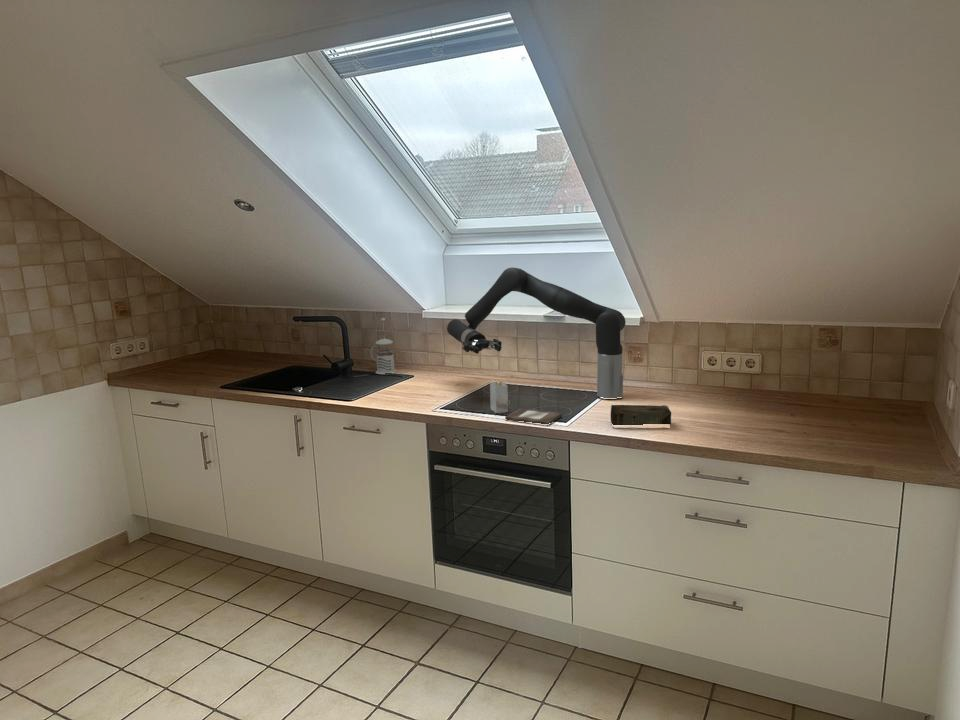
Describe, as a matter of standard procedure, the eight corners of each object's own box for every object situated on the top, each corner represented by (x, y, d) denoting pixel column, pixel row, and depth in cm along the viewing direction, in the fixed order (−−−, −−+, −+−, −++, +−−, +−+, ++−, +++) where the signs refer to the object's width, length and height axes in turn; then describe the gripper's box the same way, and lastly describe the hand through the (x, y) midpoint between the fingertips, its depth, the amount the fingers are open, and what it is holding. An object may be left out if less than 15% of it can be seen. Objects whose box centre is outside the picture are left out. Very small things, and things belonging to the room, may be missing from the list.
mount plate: (505, 420, 237) (505, 416, 237) (520, 411, 247) (520, 407, 247) (548, 426, 229) (548, 422, 229) (561, 416, 239) (561, 412, 239)
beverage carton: (671, 429, 223) (672, 410, 222) (611, 429, 225) (612, 410, 223) (667, 422, 231) (667, 403, 229) (609, 422, 233) (609, 403, 231)
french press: (392, 374, 309) (389, 319, 304) (368, 373, 311) (365, 319, 306) (399, 369, 318) (396, 316, 313) (375, 369, 321) (372, 316, 315)
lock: (502, 408, 252) (501, 379, 250) (507, 412, 246) (507, 383, 244) (490, 409, 250) (489, 381, 248) (496, 413, 245) (495, 384, 243)
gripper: (455, 332, 263) (470, 342, 249) (490, 328, 268) (506, 338, 254) (456, 351, 265) (470, 361, 251) (490, 347, 270) (506, 357, 256)
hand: (488, 350), depth 252 cm, fingers open, 8 cm apart
